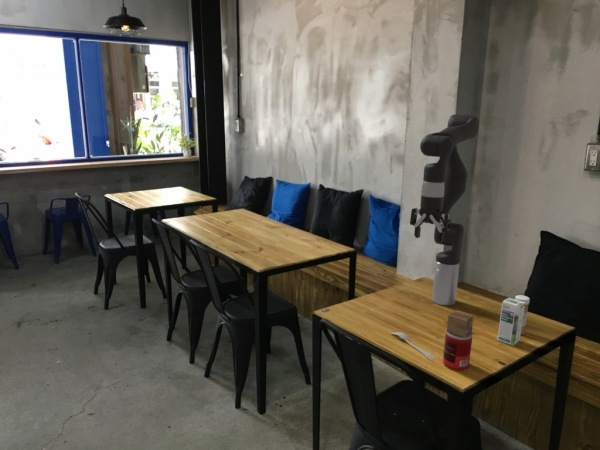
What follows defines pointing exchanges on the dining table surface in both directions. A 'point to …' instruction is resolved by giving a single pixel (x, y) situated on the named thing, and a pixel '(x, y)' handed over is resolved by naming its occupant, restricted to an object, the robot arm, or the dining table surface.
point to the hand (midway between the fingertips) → (428, 239)
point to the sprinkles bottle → (526, 300)
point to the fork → (413, 345)
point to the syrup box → (511, 321)
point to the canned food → (457, 351)
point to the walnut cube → (460, 323)
